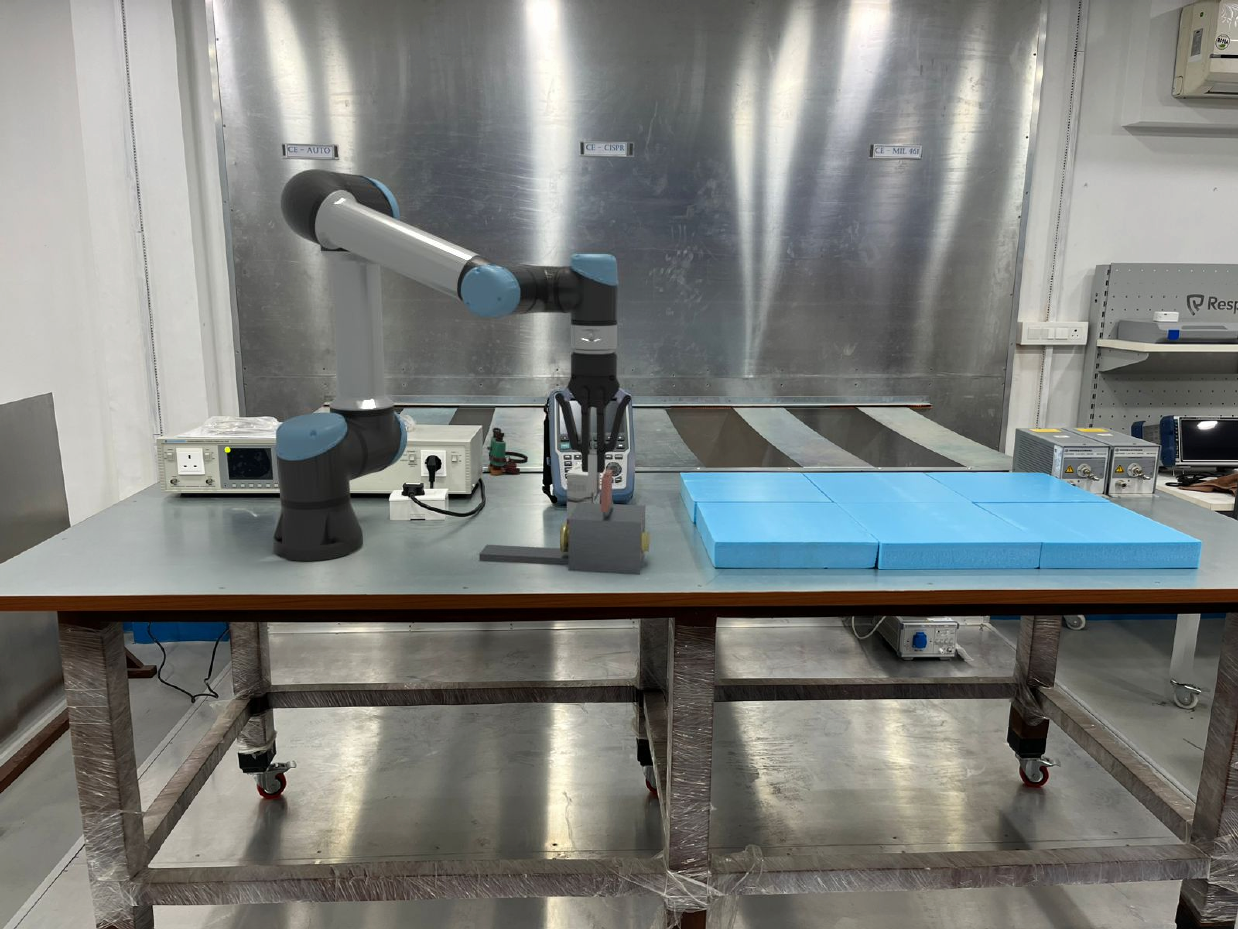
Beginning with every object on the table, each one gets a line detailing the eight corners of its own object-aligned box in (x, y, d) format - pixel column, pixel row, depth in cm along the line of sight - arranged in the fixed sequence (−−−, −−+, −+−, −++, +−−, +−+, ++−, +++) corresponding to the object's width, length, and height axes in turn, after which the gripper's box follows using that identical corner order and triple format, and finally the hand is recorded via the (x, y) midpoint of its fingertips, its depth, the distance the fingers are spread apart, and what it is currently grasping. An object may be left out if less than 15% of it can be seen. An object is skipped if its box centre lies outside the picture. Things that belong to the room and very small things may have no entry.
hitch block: (475, 565, 143) (474, 514, 141) (490, 546, 153) (489, 498, 151) (639, 574, 140) (640, 522, 138) (644, 554, 150) (645, 505, 148)
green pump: (532, 435, 203) (491, 433, 200) (528, 477, 205) (487, 476, 202) (525, 428, 211) (485, 426, 208) (521, 469, 213) (482, 467, 210)
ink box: (590, 535, 160) (591, 474, 157) (565, 533, 161) (565, 473, 158) (600, 521, 168) (601, 464, 166) (576, 520, 169) (577, 463, 167)
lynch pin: (559, 555, 144) (559, 528, 143) (564, 546, 148) (564, 520, 147) (647, 560, 142) (648, 533, 141) (649, 550, 147) (650, 524, 146)
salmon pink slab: (600, 517, 140) (601, 479, 139) (606, 505, 147) (606, 469, 145) (608, 517, 140) (609, 479, 139) (613, 506, 147) (613, 469, 145)
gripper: (550, 352, 134) (551, 494, 140) (631, 354, 133) (629, 498, 139) (558, 347, 142) (559, 483, 147) (635, 349, 140) (633, 486, 146)
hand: (593, 490), depth 143 cm, fingers closed
